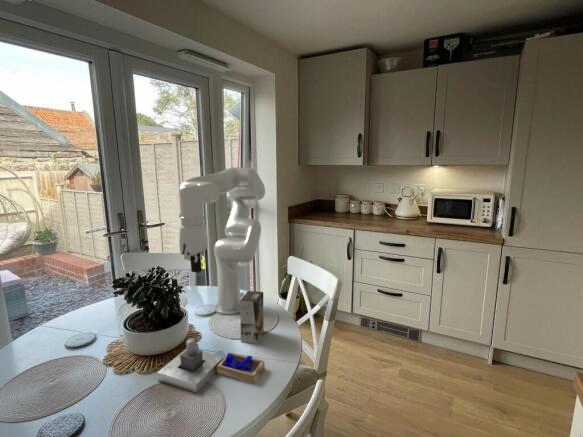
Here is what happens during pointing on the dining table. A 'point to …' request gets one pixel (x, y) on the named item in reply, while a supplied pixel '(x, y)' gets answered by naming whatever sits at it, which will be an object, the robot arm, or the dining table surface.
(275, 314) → the dining table surface
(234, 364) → the cable holder
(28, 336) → the dining table surface
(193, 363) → the plug
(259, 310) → the coffee box
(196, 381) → the socket plate
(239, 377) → the tidy tray
